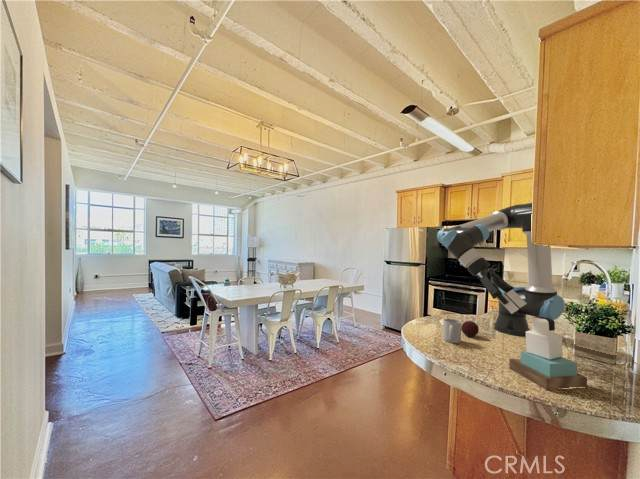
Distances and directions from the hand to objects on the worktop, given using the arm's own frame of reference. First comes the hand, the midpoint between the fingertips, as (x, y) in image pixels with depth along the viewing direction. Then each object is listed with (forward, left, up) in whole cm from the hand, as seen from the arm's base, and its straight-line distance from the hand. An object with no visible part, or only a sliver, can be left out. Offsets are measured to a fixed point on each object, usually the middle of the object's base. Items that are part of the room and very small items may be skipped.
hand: (519, 308), depth 96 cm
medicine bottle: (-4, +6, -14) cm, 16 cm away
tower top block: (-4, +7, -18) cm, 20 cm away
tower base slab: (-4, +6, -22) cm, 23 cm away
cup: (+7, -27, -22) cm, 36 cm away
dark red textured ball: (-7, -34, -22) cm, 41 cm away
